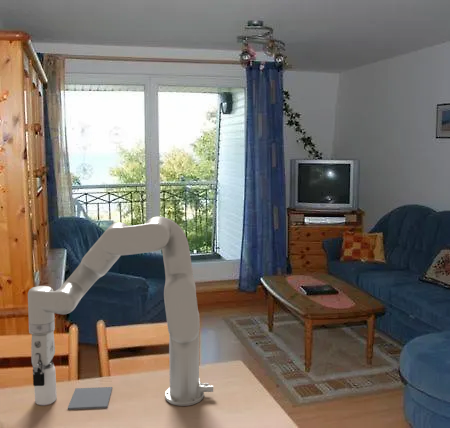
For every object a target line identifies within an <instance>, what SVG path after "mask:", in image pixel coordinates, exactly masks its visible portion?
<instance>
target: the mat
mask: <svg viewBox="0 0 450 428" xmlns="http://www.w3.org/2000/svg"><path fill="white" fill-rule="evenodd" d="M112 391H113V386H103V387H102V386H101V387H76V388H75V389H74V391H73V394H72V396H71V398H70V401H69V404H68V406H67V411H71V410H89V409H90V410H92V409H93V410H94V409H107V408H109V407H108V406H109V402H110V399H111V395H112Z"/></svg>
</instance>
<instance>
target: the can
mask: <svg viewBox="0 0 450 428" xmlns="http://www.w3.org/2000/svg"><path fill="white" fill-rule="evenodd" d="M39 363H42V362H39ZM38 368H40V370H41V366H38ZM43 373H44V383H45V384H44V386H34V385H33V389H34V402H35V404H37V405H38V406H41V407H43V406H48V405H52V404H54V402H55V401H56V400H57V397H58V396H57V378H56V377H57V376H56V367H55V364H54V362H53V361H52V362H50V363H49V364H48V365H44V369H43Z"/></svg>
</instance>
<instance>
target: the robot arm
mask: <svg viewBox="0 0 450 428" xmlns="http://www.w3.org/2000/svg"><path fill="white" fill-rule="evenodd" d="M160 250H161V252H162V258H163V265H164V274H165V283H164V288H163V299H164V309H165V316H166V325H167V331H168V334H169V336H168V337H169V349H168V350H169V352H168V355H169V361H168V362H169V387H168V388H167V389H166V390H165V393H164V397H165V400H166V401H167V402H168V403H170V405H174V406H179V407H186V406H187V407H188V406H189V407H190V406H192V405H196V404H198V403H199V402H201V401H202V400H203V399H204V397H205V394H204V393H213V392H214V385H210V382H203V383H202V382H201V378H200V329H201V328H200V326H201V325H200V322H201V321H200V313H199V312H200V311H199V309H198V298H197V289H196V288H197V287H196V281H195V278H194V272H193V265H192V257H191V252H190V246H189V241H188V238H187V236H186V233H185V232H184V230H183V229H182V228H181V226H180V225H179V224H178V223H177V222H175V221H173V220H172V219H170V218H167V217H164V216H153V217H150V218H149V219H148V220H147V221H146V222H145V223H144V224H143V223H142V224H136V225H128V224H127V223H125V222H120V221H119V222H114V223H112V224H110V225H109V226H108V227H107V228H106V229H105V231H104V232H103V233H102V235H100V237H99V238H98V239H97V240H96V241H95V243H94V244H93V245H92V246H91V247H90V248H89V250H88V251H87V252H86V253H85V254H84V256H83V257H82V259H81V262H80V263H79V264H78V266H77V267H75V269H74V270H73V272H72V273H71V274H70V276H69V277H67V279H65V281H64V283H63V284H62V285H61V286H60V287H59V288H58V289H56V290H54V289H53V288H52V287H51V286H48V285H38V286H33V287H31V288H30V289H29V290H28V292H27V304H28V305H27V308H28V311H27V312H28V333H29V335H31V347H30V349H31V351H30V352H31V353H30V354H31V356H30V357H31V358H30V359H31V365H32V382H33V383H32V384H33V385H32V386H33V387H34V386H44V384H45V383H44V373H43V369H44V365H48V364H49V363H50V362H53V358H54V356H55V354H56V346H55V345H56V344H55V343H56V342H55V334H54V332H55V329H56V327H55V326H56V325H55V324H56V323H55V314H58V315H67V314H70V313H72V312H73V311H74V310H75V309H76V307H77V306H78V304H79V303H80V302H81V299H82V298H83V297H84V296H85V295H86V293H88V291H89V290H90V289H91V288H92V287H93V285H95V283H96V282H97V281H98V280H99V279H100V278H102V277H103V276H106V274H107V273H108V272H109V270H110V269H111V268H112V267H113V265H114V264H115V263H116V262H117V261H118V260H119V259H120V257H121V256H129V255H130V256H131V255H138V254H145V253H151V252H157V251H158V252H159V251H160ZM40 362H42V363H40ZM38 366H41V370H40V368H38Z"/></svg>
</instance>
